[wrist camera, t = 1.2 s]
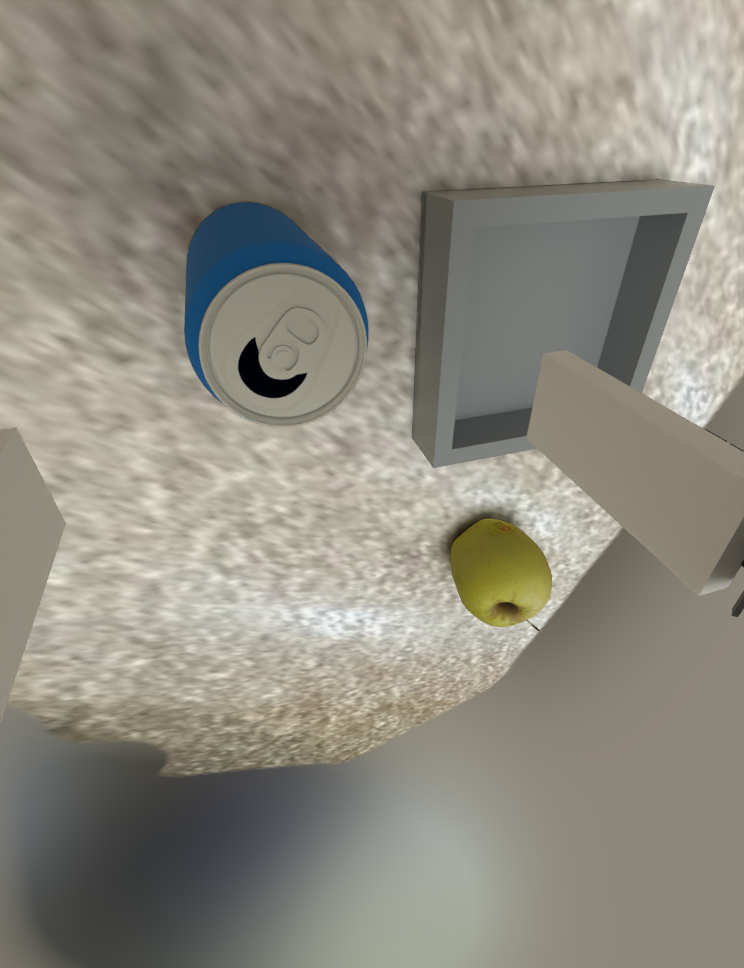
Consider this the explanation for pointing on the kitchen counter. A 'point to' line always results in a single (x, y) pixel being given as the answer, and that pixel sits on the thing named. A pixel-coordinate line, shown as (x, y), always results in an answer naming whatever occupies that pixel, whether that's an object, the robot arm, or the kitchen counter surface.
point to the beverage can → (271, 318)
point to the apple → (500, 573)
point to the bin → (539, 298)
